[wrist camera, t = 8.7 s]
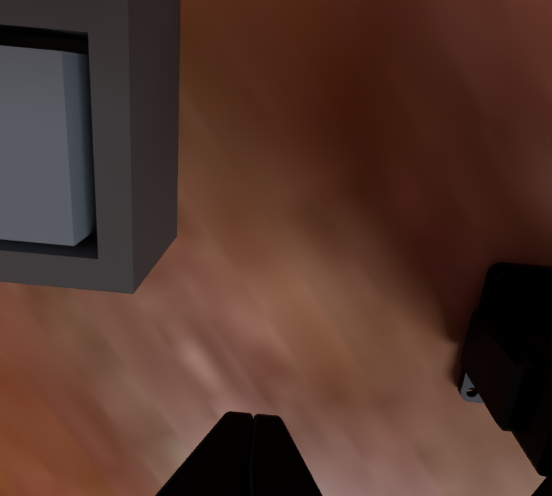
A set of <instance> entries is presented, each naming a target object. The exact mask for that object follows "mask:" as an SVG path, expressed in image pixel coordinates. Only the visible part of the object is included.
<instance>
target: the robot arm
mask: <svg viewBox="0 0 552 496" xmlns="http://www.w3.org/2000/svg"><path fill="white" fill-rule="evenodd" d="M505 271H506V275H505V277H504V278H502V279H497V277H498V275H499V274H500V273H501V272H505ZM460 364H461V366H462V372H461V376H460V379H459V383H458V391H459V393H460V395H461V397H462V398H463V399H464V400H465V401H468V402H476V403H484V404H485V405H486V407H487V409H488V410H489V412H490V413H491V415H492V417H493V418H494V420H495V422H496V423H497V425H498V426H499V427H500V428H501V429H502V430H503V431H511V432H512V434H513V435H514V437H515V438H516V440H517V441H518V443H519V444H520V446H521V448H522V449H523V451H524V452H525V454H526V455H527V457H528V459H529V460H530V462H531V463H532V465H533V466H534V468H535V470H536V471H537V473H538V474H539V475H541V476H545V477H546V479H545V480H544V481H543V482H542V483H541V485H540V486H539V487H538V488H537V489H536V491H535V492H534V493H533V494H532V495H531V496H552V267H549V266H538V265H527V264H517V263H506V262H500V263H496V264H494V265H492V266H491V267H490V268H489V270H488V272H487V276H486V280H485V283H484V287H483V291H482V295H481V299H480V303H479V306H478V309H477V310H476V311H474V312H473V313H472V316H471V320H470V324H469V328H468V332H467V336H466V340H465V344H464V348H463V351H462V355H461V359H460ZM470 388H474V389H473V390H472V391H469V392H467V390H468V389H470ZM155 496H322V494H321V492H320V490H319V488H318V486H317V485H316V483H315V481H314V479H313V477H312V475H311V473H310V471H309V469H308V467H307V466H306V464H305V462H304V460H303V458H302V456H301V454H300V452H299V450H298V449H297V447H296V445H295V443H294V441H293V439H292V437H291V435H290V433H289V431H288V430H287V428H286V426H285V424H284V422H283V420H282V419H281V417H279V416H277V415H266V414H256V415H255V416H254V418H253V416H252V414H250V413H243V412H232V411H229V412H227V413H225V414H224V415H223V416H222V418H221V419H220V420H219V421H218V422H217V424H216V425H215V426H214V427H213V428H212V429H211V431H210V432H209V433H208V434H207V435H206V436H205V438H204V439H203V440H202V441H201V442H200V444H199V445H198V446H197V447H196V448H195V449H194V451H193V452H192V453H191V454H190V455H189V456H188V458H187V459H186V460H185V461H184V462H183V464H182V465H181V466H180V467H179V468H178V469H177V471H176V472H175V473H174V474H173V475H172V476H171V478H170V479H169V480H168V481H167V482H166V483H165V485H164V486H163V487H162V488H161V489H160V491H159V492H158V493H157V494H156V495H155Z"/></svg>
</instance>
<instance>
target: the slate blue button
mask: <svg viewBox="0 0 552 496" xmlns="http://www.w3.org/2000/svg"><path fill="white" fill-rule="evenodd" d="M96 229H97V219H96V197H95V176H94V154H93V132H92V110H91V88H90V66H89V55H84V54H77V53H71V52H64V51H55V50H44V49H33V48H22V47H11V46H0V239H4V240H14V241H25V242H36V243H47V244H58V245H69V246H75V245H76V244H77V243H79V242H80V241H81V240H83V239H84V238H85V237H87V236H88V235H90V234H91V233H92V232H94V231H95V230H96Z"/></svg>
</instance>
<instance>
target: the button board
mask: <svg viewBox="0 0 552 496" xmlns="http://www.w3.org/2000/svg"><path fill="white" fill-rule="evenodd" d="M0 46H11V47H22V48H33V49H44V50H55V51H64V52H71V53H77V54H84V55H89V66H90V88H91V110H92V132H93V154H94V176H95V197H96V219H97V229H96V230H95V231H94V232H92V233H91V234H90V235H88V236H87V237H85V238H84V239H83V240H81V241H80V242H79V243H77V244H76V245H75V246H69V245H58V244H47V243H36V242H25V241H14V240H4V239H0V282H10V283H21V284H32V285H43V286H54V287H64V288H75V289H86V290H97V291H108V292H119V293H130V294H134V292H135V291H136V290H137V288H138V287H139V286H140V284H141V283H142V282H143V280H144V279H145V278H146V276H147V275H148V274H149V272H150V271H151V270H152V268H153V267H154V266H155V264H156V263H157V262H158V261H159V259H160V258H161V257H162V255H163V254H164V253H165V251H166V250H167V249H168V247H169V246H170V245H171V243H172V242H173V241H174V239H175V238H176V237H177V179H178V113H179V48H180V0H0Z"/></svg>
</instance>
